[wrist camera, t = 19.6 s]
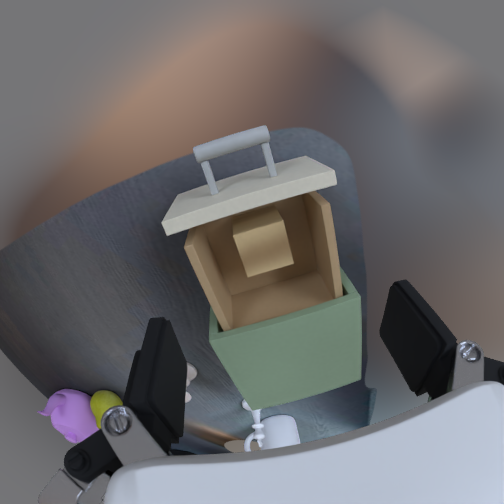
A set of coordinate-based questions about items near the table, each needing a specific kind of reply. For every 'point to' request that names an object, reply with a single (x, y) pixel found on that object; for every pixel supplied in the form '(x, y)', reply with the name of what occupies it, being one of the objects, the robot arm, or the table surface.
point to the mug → (276, 433)
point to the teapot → (71, 414)
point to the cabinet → (294, 351)
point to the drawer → (247, 200)
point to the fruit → (103, 404)
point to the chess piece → (257, 425)
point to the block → (261, 241)
